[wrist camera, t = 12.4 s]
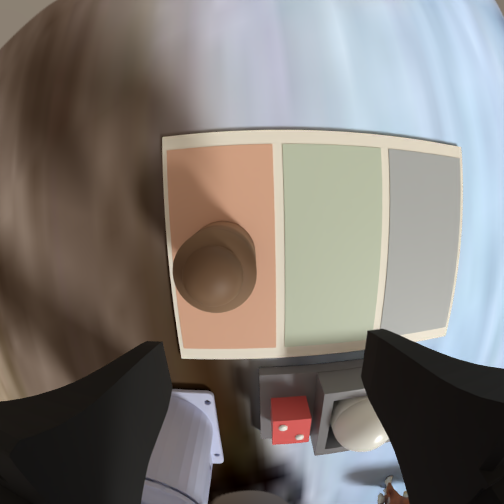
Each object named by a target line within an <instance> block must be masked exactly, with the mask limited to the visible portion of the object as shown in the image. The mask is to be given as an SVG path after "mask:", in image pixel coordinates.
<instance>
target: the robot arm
mask: <svg viewBox="0 0 504 504" xmlns="http://www.w3.org/2000/svg"><path fill="white" fill-rule="evenodd" d="M361 379H362V382H363V385H364V388H365V391H366V394H367V397H368V399H369V401H370V403H371V405H372V407H373V409H374V411H375V413H376V415H377V417H378V418H379V420H380V422H381V424H382V426H383V428H384V430H385V432H386V434H387V436H388V438H389V440H390V442H391V444H392V446H393V448H394V451H395V454H396V457H397V460H398V463H399V466H400V469H401V472H402V476H403V479H404V483H405V486H406V490H407V495H408V499H409V504H504V369H502V368H495V367H488V366H483V365H478V364H474V363H470V362H466V361H462V360H459V359H456V358H453V357H450V356H447V355H444V354H442V353H439V352H437V351H434V350H432V349H429V348H427V347H425V346H422V345H420V344H418V343H416V342H414V341H411V340H409V339H407V338H405V337H403V336H400V335H398V334H396V333H394V332H391V331H389V330H386V329H376V330H369V331H367V337H366V345H365V353H364V360H363V366H362V372H361ZM172 388H173V387H172V383H171V378H170V374H169V370H168V365H167V361H166V356H165V351H164V346H163V342H153V341H146V342H144V343H142V344H140V345H139V346H137V347H135V348H134V349H132V350H130V351H129V352H127V353H125V354H124V355H122V356H121V357H119V358H117V359H116V360H114V361H113V362H111V363H109V364H108V365H106V366H104V367H102V368H101V369H99V370H97V371H95V372H93V373H92V374H90V375H88V376H86V377H84V378H82V379H80V380H78V381H76V382H73V383H71V384H68V385H66V386H64V387H61V388H58V389H55V390H52V391H49V392H46V393H42V394H39V395H36V396H31V397H27V398H22V399H16V400H10V401H1V402H0V504H208V496H209V488H210V481H211V473H212V465H213V463H223V461H224V457H223V451H222V445H221V439H220V433H219V427H218V420H217V414H216V407H215V400H214V395H213V393H212V392H210V391H207V390H183V389H172ZM206 400H208V401H210V402H207V401H206Z"/></svg>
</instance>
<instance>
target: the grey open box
mask: <svg viewBox="0 0 504 504" xmlns="http://www.w3.org/2000/svg"><path fill="white" fill-rule="evenodd" d="M363 360H364V359H358V360H350V361H342V362H333V363H323V364H312V365H299V366H283V367H262V368H259V386H260V424H261V439H266V438H272V444H273V445H275V444H290V443H301V442H308V441H309V435H310V436H311V441H312V445H313V450H314V454H315V456H316V455H323V454H330V453H337V452H343V451H349V450H348V449H346V448H345V447H343V446H342V445H341V444H340V443H339V442H338V441H337V439H336V438H335V436H334V433H333V430H332V427H331V424H330V420H331V414H332V409H333V403H334V401H336V400H343V399H350V398H357V397H363V396H367V394H366V391H365V388H364V385H363V382H362V379H361V372H362V366H363ZM386 442H390V440H389V439H388V440H387V441H386ZM386 442H385V443H386Z"/></svg>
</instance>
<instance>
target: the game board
mask: <svg viewBox="0 0 504 504" xmlns="http://www.w3.org/2000/svg"><path fill="white" fill-rule="evenodd" d="M162 156H163V187H164V207H165V223H166V236H167V248H168V259H169V269H170V279H171V287H172V296H173V304H174V311H175V319H176V326H177V333H178V339H179V346H180V352H181V358H183V359H260V358H283V357H299V356H312V355H324V354H334V353H343V352H352V351H360V350H365V345H366V337H367V331H369V330H376V329H386V330H389V331H391V332H394V333H396V334H398V335H400V336H403V337H405V338H407V339H409V340H411V341H414V342H417V341H423V340H428V339H433V338H438V337H442V336H445V335H446V331H447V327H448V322H449V318H450V313H451V308H452V303H453V297H454V291H455V285H456V278H457V271H458V263H459V254H460V244H461V231H462V210H463V173H462V152H461V147H457V146H452V145H447V144H441V143H436V142H430V141H424V140H417V139H410V138H403V137H395V136H386V135H377V134H366V133H354V132H339V131H319V130H245V131H225V132H210V133H197V134H186V135H177V136H168V137H162ZM216 221H229V222H233V223H235V224H238V225H239V226H241V227H242V228H244V229H245V230H246V231H247V232H248V233H249V235H250V236H251V238H252V240H253V242H254V245H255V252H256V268H257V278H256V284H255V287H254V289H253V291H252V293H251V295H250V296H249V298H248V299H247V300H246V301H245V302H244V303H243V304H242V305H240V306H239V307H237V308H235V309H233V310H230V311H227V312H223V313H210V312H205V311H202V310H199V309H197V308H195V307H193V306H192V305H190V304H189V303H188V302H187V301H186V300H185V299H184V298H183V297H182V296H181V295H180V293H179V292H178V290H177V288H176V286H175V283H174V279H173V270H172V269H173V262H174V258H175V255H176V253H177V251H178V250H179V248H180V247H181V245H182V244H183V243H184V242H185V241H186V240H188V239H189V238H190V237H191V236H193V235H194V234H195V233H196V232H198V231H199V230H200V229H202V228H203V227H204V226H206V225H208V224H210V223H212V222H216Z"/></svg>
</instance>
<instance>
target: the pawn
mask: <svg viewBox="0 0 504 504" xmlns="http://www.w3.org/2000/svg"><path fill="white" fill-rule="evenodd" d="M172 270H173V279H174V283H175V286H176V288H177V290H178V292H179V293H180V295H181V296H182V297H183V298H184V299H185V300H186V301H187V302H188V303H189V304H190V305H192V306H193V307H195V308H197V309H199V310H202V311H205V312H210V313H223V312H227V311H230V310H233V309H235V308H237V307H239V306H240V305H242V304H243V303H244V302H245V301H246V300H247V299H248V298H249V296H250V295H251V293H252V291H253V289H254V287H255V284H256V278H257V268H256V252H255V245H254V242H253V240H252V238H251V236H250V235H249V233H248V232H247V231H246V230H245V229H244V228H242V227H241V226H239V225H238V224H235V223H233V222H229V221H216V222H212V223H210V224H208V225H206V226H204V227H203V228H202V229H200V230H199V231H198V232H196V233H195V234H194V235H193V236H191V237H190V238H189V239H188V240H186V241H185V242H184V243H183V244H182V245H181V247H180V248H179V250H178V251H177V253H176V255H175V258H174V262H173V269H172Z"/></svg>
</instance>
